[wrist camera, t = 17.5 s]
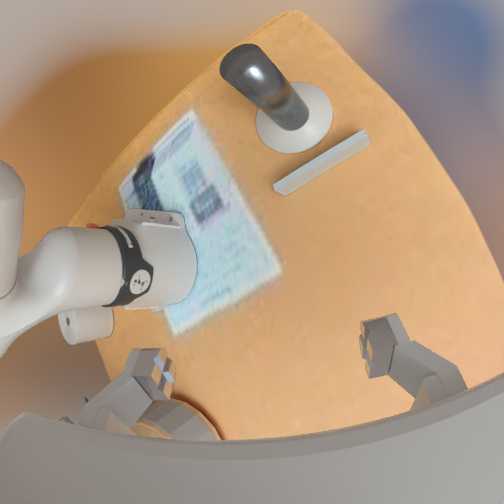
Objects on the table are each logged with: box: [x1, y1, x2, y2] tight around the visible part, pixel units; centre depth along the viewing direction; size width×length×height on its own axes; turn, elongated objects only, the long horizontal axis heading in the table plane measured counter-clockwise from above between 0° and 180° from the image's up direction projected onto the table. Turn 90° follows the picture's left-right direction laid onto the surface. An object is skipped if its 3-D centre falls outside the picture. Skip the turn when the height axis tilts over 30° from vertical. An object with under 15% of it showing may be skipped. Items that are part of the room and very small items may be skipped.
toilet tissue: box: [58, 306, 114, 345], centre depth 58 cm, size 11×12×10 cm
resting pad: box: [256, 82, 333, 154], centre depth 39 cm, size 12×12×1 cm
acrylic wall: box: [272, 129, 371, 196], centre depth 36 cm, size 14×1×4 cm, turn 118°
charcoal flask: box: [220, 44, 309, 131], centre depth 32 cm, size 5×5×15 cm
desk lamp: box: [58, 398, 221, 440], centre depth 33 cm, size 22×19×37 cm
